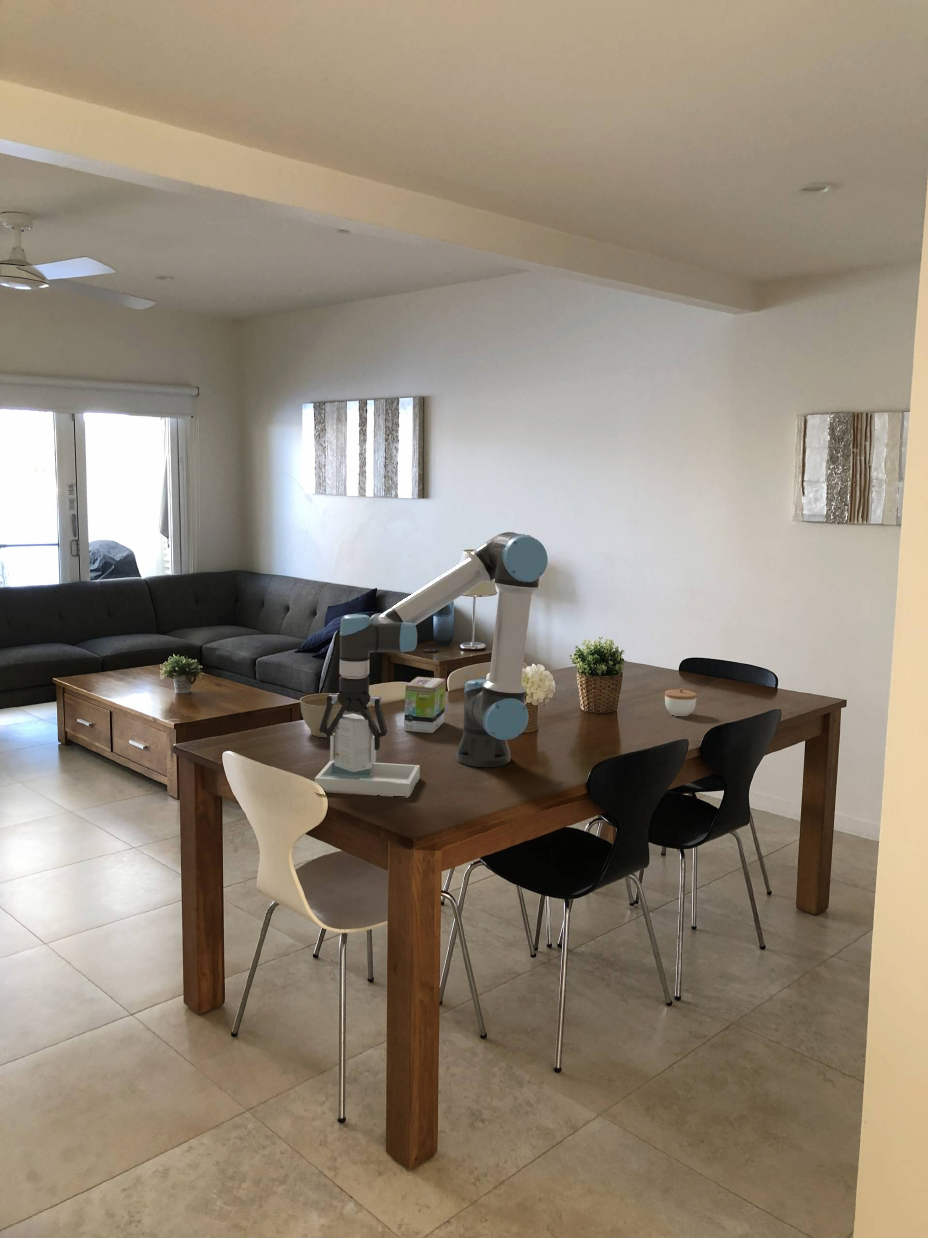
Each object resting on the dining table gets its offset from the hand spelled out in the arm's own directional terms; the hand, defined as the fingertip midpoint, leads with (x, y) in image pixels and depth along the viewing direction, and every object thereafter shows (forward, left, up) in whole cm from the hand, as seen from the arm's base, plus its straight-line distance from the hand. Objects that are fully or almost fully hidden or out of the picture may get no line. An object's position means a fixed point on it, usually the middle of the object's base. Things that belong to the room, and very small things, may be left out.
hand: (353, 760), depth 253 cm
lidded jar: (-92, -95, -6) cm, 133 cm away
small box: (0, 0, -2) cm, 2 cm away
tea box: (-9, -61, -7) cm, 62 cm away
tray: (-4, 0, -6) cm, 7 cm away
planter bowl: (+19, -46, -6) cm, 50 cm away
